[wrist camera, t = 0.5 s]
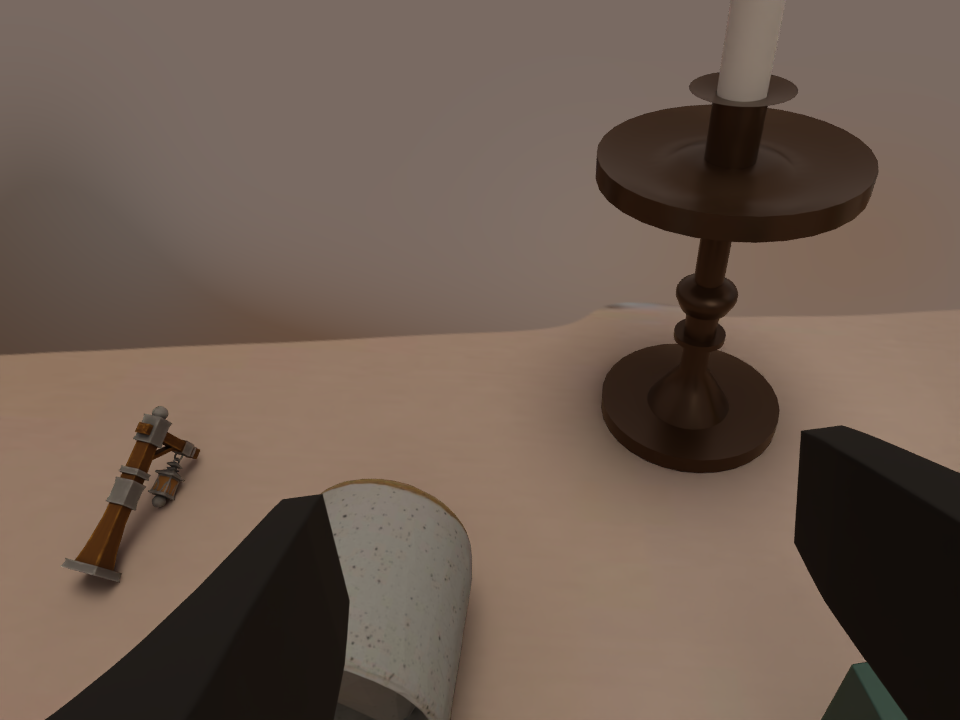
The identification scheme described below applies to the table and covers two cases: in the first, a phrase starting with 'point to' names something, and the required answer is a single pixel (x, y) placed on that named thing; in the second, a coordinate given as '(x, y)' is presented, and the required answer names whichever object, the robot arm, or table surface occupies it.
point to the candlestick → (721, 239)
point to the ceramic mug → (399, 599)
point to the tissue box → (862, 698)
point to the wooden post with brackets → (133, 493)
